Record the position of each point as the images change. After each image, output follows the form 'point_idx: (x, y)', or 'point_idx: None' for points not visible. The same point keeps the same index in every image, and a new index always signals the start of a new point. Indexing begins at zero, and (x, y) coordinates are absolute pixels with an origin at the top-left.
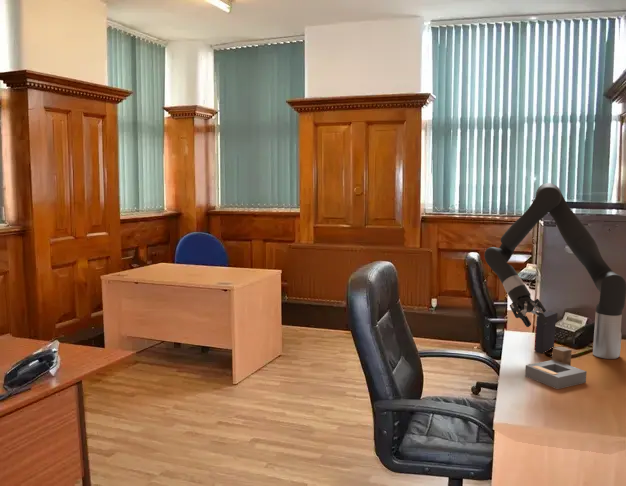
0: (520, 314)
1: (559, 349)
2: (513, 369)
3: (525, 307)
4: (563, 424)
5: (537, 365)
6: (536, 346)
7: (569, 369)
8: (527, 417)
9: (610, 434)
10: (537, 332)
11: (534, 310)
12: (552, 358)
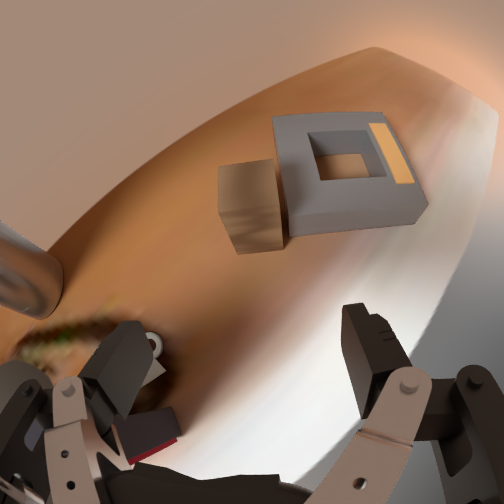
0: (470, 371)
1: (266, 179)
2: (418, 289)
3: (354, 494)
4: (428, 74)
5: (391, 188)
6: (171, 433)
7: (307, 137)
8: (467, 101)
9: (383, 50)
10: (136, 447)
11: (114, 467)
12: (281, 228)
